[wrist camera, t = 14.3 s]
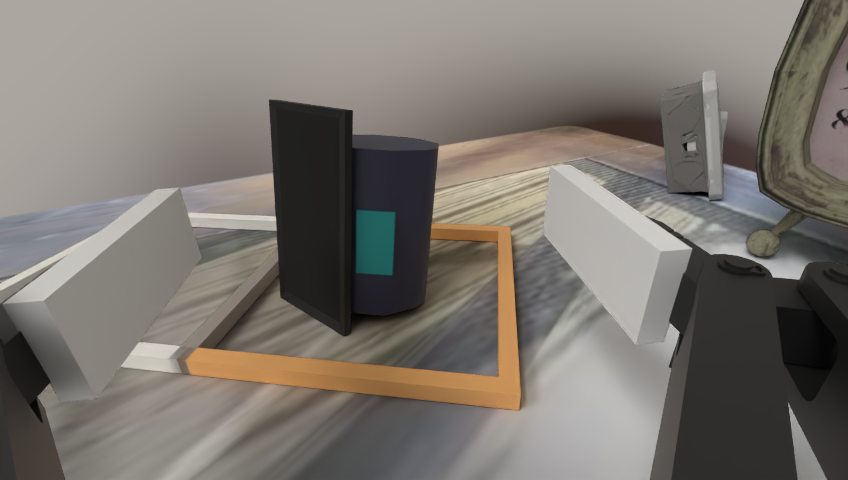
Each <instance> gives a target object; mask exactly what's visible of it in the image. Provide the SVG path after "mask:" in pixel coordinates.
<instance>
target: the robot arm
mask: <svg viewBox="0 0 848 480" xmlns="http://www.w3.org/2000/svg"><path fill="white" fill-rule="evenodd" d="M542 233H543V234H544V235H545V236H546V238H547V239H548V240H549V241H550V242H551V244H552V245H553V246H554V247H555V248H556V250H557V251H558V252H559V253H560V254H561V256H562V257H563V258H564V259H565V260H566V262H567V263H568V264H569V265H570V266H571V268H572V269H573V270H574V271H575V272H576V274H577V275H578V276H579V277H580V278H581V280H582V281H583V282H584V283H585V284H586V286H587V287H588V288H589V289H590V290H591V292H592V293H593V294H594V295H595V296H596V298H597V299H598V300H599V301H600V302H601V304H602V305H603V306H604V307H605V308H606V310H607V311H608V312H609V313H610V314H611V316H612V317H613V318H614V319H615V320H616V322H617V323H618V324H619V325H620V326H621V328H622V329H623V330H624V331H625V332H626V334H627V335H628V336H629V337H630V338H631V340H632V341H633V342H634V343H635V344H636V345H638V344H648V343H658V342H664V339H665V336H666V333H667V330H668V326H669V323H671V324H672V325H673V326H674V327H675V328H676V329H677V330H678V331H679V332H680V334H679V337H678V341H677V344H676V347H675V350H674V353H673V356H672V359H671V362H670V365H669V367H670V368H672V369H671V374H670V379H669V384H668V389H667V394H666V399H665V404H664V410H663V415H662V420H661V425H660V430H659V435H658V440H657V445H656V451H655V456H654V461H653V466H652V471H651V476H650V480H797V472H796V464H795V456H794V447H793V439H792V431H791V423H790V415H789V407H788V403H789V405H790V407H791V409H792V411H793V413H794V415H795V417H796V419H797V421H798V423H799V424H800V426H801V428H802V430H803V432H804V434H805V436H806V438H807V440H808V442H809V444H810V446H811V448H812V450H813V452H814V454H815V456H816V458H817V460H818V462H819V464H820V466H821V468H822V470H823V472H824V474H825V476H826V478H827V480H848V265H847V264H843V263H839V264H836V263H831V262H813V263H809V264H808V265H807V266H806V267H805V269H804V271H803V273H802V275H801V278H800V280H795V279H784V278H773V277H772V275H771V273H770V271H769V270H768V269H767V268H765V267H764V266H762V265H761V264H759V263H756V262H754V261H752V260H750V259H746V258H743V257H739V256H734V255H727V254H714V255H710V254H709V253H707V252H706V251H704V250H703V249H701V248H700V247H698V246H697V245H695V244H694V243H692V242H691V241H689V240H688V239H686V238H683V236H682V235H680V234H679V233H677V232H674V230H673V229H671V228H670V227H668V226H667V225H665V224H664V223H662V222H660V221H657V220H655V219H652V218H650V217H647V216H644V215H643V214H641V213H640V212H638V211H637V210H635V209H634V208H632V207H631V206H630V205H628V204H627V203H625V202H624V201H622V200H621V199H619V198H618V197H617V196H615V195H614V194H612V193H611V192H609V191H608V190H606V189H605V188H603V187H602V186H601V185H599V184H598V183H596V182H595V181H593V180H592V179H590V178H589V177H587V176H586V175H585V174H583V173H582V172H580V171H579V170H577V169H576V168H574V167H573V166H572V165H555V166H550V172H549V181H548V189H547V198H546V206H545V215H544V223H543V232H542ZM201 258H202V257H201V254H200V251H199V248H198V245H197V241H196V238H195V235H194V232H193V229H192V225H191V222H190V219H189V216H188V213H187V209H186V206H185V203H184V200H183V197H182V194H181V190H180V188H169V189H156V190H155V191H153V192H152V193H151V194H149V195H148V196H147V197H145V198H144V199H142V200H141V201H140V202H138V203H137V204H136V205H134V206H133V207H132V208H130V209H129V210H128V211H126V212H125V213H124V214H122V215H121V216H120V217H118V218H117V219H116V220H114V221H113V222H112V223H110V224H109V225H108V226H106V227H105V228H104V229H102V230H101V231H99V232H98V233H97V234H95V235H94V236H93V237H91V238H90V239H89V240H87V241H86V242H85V243H83V244H82V245H81V246H79V247H78V248H77V249H75V250H74V251H73V252H71V253H70V254H69V255H67V256H66V257H65V258H63V259H62V260H61V261H59V262H58V263H56V264H55V265H54V266H52V267H50V268H48V269H46V270H45V271H44V272H42V273H41V274H40V275H38V276H37V277H36V278H34V279H33V280H32V282H29V283H28V284H26V285H25V286H23V287H22V288H21V289H20V291H19V292H15V293H14V294H13V295H11V296H10V297H9V298H7V299H6V300H5V301H3V302H2V303H0V480H65V477H64V474H63V470H62V467H61V463H60V460H59V457H58V453H57V450H56V446H55V443H54V439H53V436H52V432H51V429H50V425H49V422H48V418H47V415H46V411H45V408H44V407H43V405H42V404H41V402H40V400H39V399H38V397H37V396H38V395H39V394H40V393H41V392H42V391H43V390H44V389H45V388H46V386H47V385H48V384H49V383H50V384H51V386H52V388H53V389H54V391H55V393H56V394H57V396H58V398H59V399H60V401H61V402H69V401H79V400H89V399H97V398H98V396H99V395H100V394H101V392H102V391H103V389H104V388H105V387H106V385H107V384H108V383H109V381H110V380H111V379H112V377H113V376H114V375H115V373H116V372H117V371H118V369H119V368H120V367H121V365H122V364H123V363H124V361H125V360H126V359H127V357H128V356H129V355H130V353H131V352H132V351H133V349H134V348H135V347H136V345H137V344H138V343H139V341H140V340H141V338H142V337H143V336H144V334H145V333H146V332H147V330H148V329H149V328H150V326H151V325H152V324H153V322H154V321H155V320H156V318H157V317H158V316H159V314H160V313H161V312H162V310H163V309H164V308H165V306H166V305H167V304H168V302H169V301H170V300H171V298H172V297H173V296H174V294H175V293H176V291H177V290H178V289H179V287H180V286H181V285H182V283H183V282H184V281H185V279H186V278H187V277H188V275H189V274H190V273H191V271H192V270H193V269H194V267H195V266H196V265H197V263H198V262H199V261H200V259H201Z"/></svg>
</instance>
